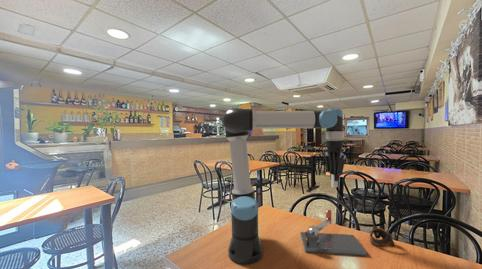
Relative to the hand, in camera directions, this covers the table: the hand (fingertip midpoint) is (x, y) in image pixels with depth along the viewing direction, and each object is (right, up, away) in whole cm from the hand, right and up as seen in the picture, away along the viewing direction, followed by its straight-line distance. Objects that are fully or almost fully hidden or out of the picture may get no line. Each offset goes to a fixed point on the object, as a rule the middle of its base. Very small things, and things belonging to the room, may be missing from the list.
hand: (334, 187), depth 104 cm
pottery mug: (+19, -25, -7) cm, 32 cm away
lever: (-8, -23, -2) cm, 24 cm away
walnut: (-16, -23, -9) cm, 29 cm away
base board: (-5, -25, -7) cm, 27 cm away
